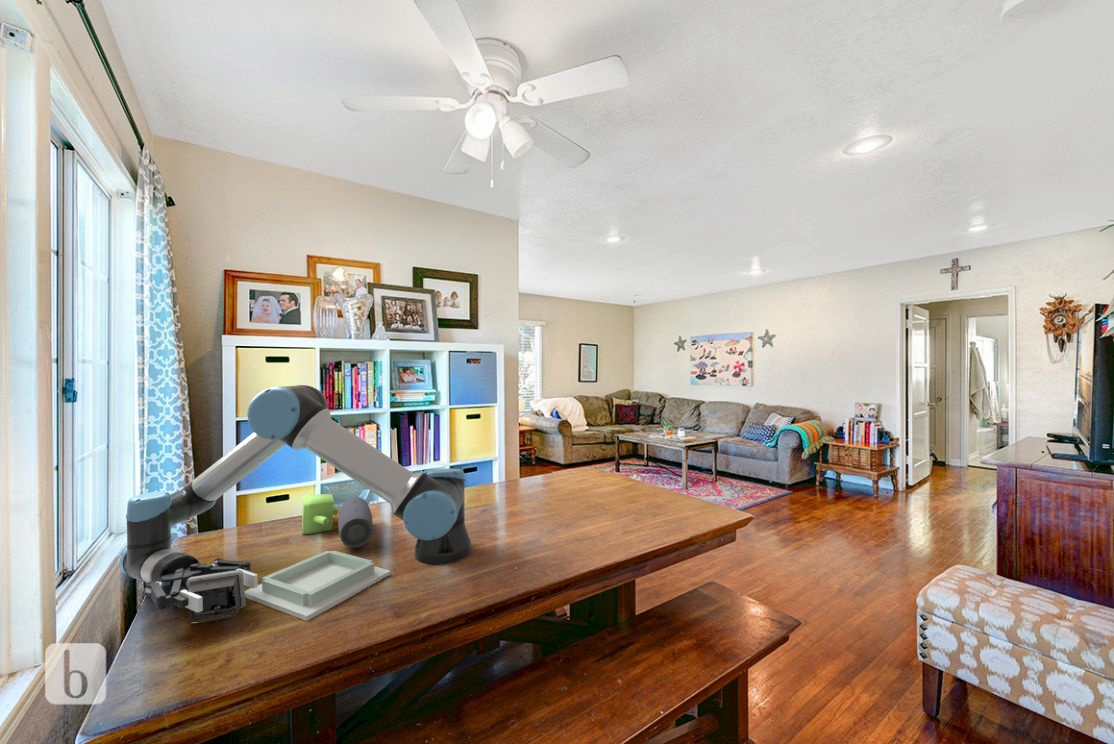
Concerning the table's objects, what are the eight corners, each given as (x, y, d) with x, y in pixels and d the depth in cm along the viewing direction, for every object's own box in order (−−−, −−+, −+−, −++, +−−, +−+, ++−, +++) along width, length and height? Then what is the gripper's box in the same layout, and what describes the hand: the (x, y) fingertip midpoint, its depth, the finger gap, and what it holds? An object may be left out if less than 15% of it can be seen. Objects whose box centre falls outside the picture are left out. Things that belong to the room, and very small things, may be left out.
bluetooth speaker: (374, 549, 124) (374, 513, 124) (338, 555, 120) (337, 518, 120) (370, 523, 145) (370, 493, 145) (338, 527, 141) (338, 496, 141)
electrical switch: (246, 605, 95) (244, 565, 94) (240, 620, 90) (238, 578, 89) (192, 615, 91) (190, 573, 90) (182, 632, 86) (180, 587, 85)
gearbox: (339, 535, 135) (340, 505, 135) (302, 540, 130) (303, 508, 130) (335, 517, 151) (336, 489, 151) (302, 521, 146) (303, 492, 146)
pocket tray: (390, 574, 109) (390, 560, 109) (306, 620, 89) (306, 603, 89) (330, 558, 118) (330, 545, 118) (242, 596, 98) (242, 580, 98)
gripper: (226, 566, 108) (283, 586, 98) (104, 611, 88) (161, 642, 78) (226, 536, 108) (283, 553, 98) (103, 574, 88) (160, 600, 78)
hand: (229, 592), depth 88 cm, fingers open, 9 cm apart
